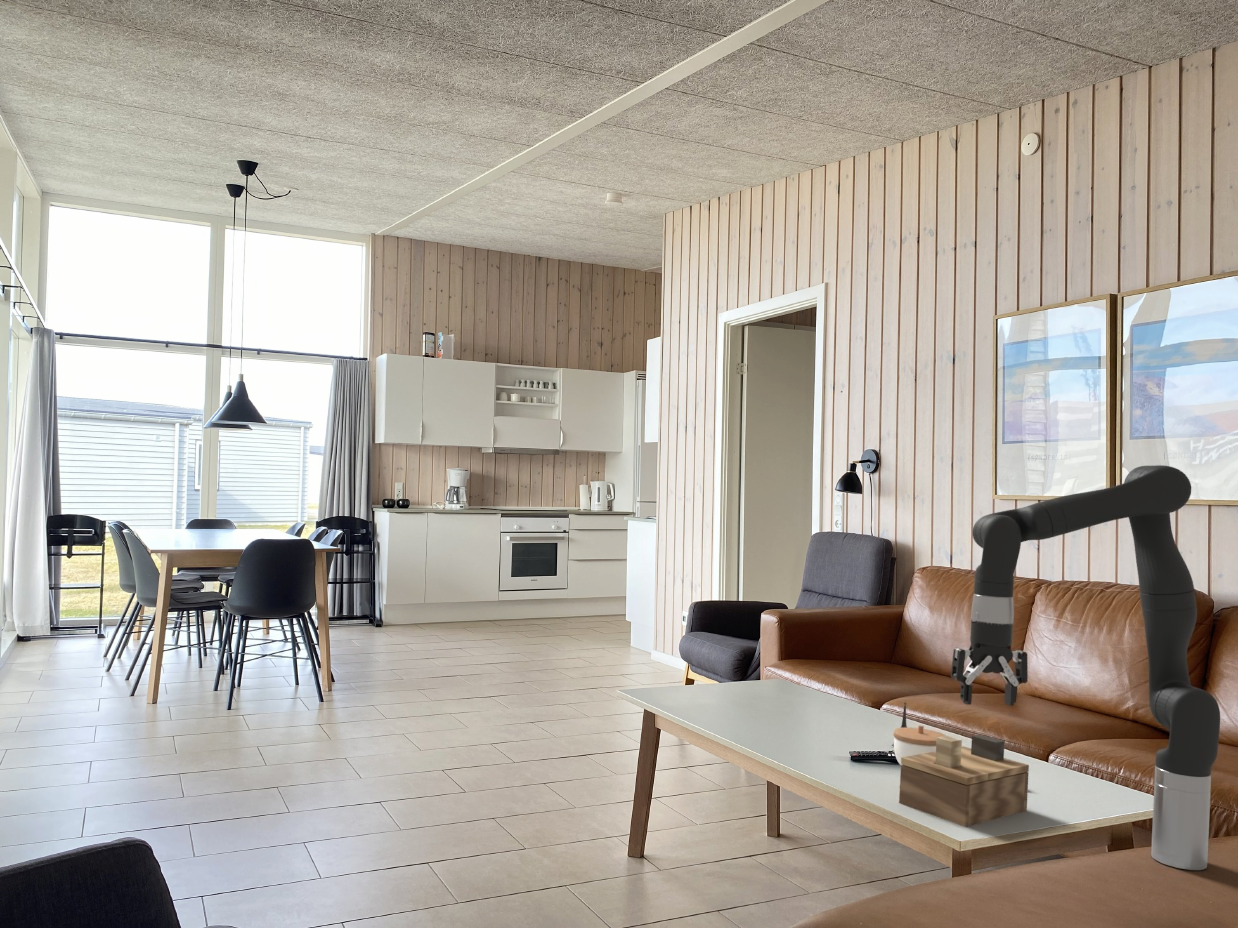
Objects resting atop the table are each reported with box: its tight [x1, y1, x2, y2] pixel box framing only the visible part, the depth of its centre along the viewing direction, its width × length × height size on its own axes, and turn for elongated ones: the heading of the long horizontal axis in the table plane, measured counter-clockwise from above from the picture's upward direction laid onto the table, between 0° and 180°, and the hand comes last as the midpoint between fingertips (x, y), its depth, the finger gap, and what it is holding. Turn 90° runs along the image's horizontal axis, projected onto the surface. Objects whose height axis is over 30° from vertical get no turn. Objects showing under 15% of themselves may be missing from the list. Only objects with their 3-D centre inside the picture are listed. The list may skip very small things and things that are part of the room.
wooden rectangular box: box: [898, 765, 1029, 827], centre depth 209 cm, size 22×16×9 cm
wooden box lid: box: [901, 734, 1030, 785], centre depth 210 cm, size 22×16×5 cm
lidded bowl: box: [893, 724, 947, 766], centre depth 239 cm, size 13×13×11 cm
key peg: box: [935, 735, 963, 769], centre depth 206 cm, size 4×4×15 cm
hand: (987, 704), depth 188 cm, fingers open, 8 cm apart
